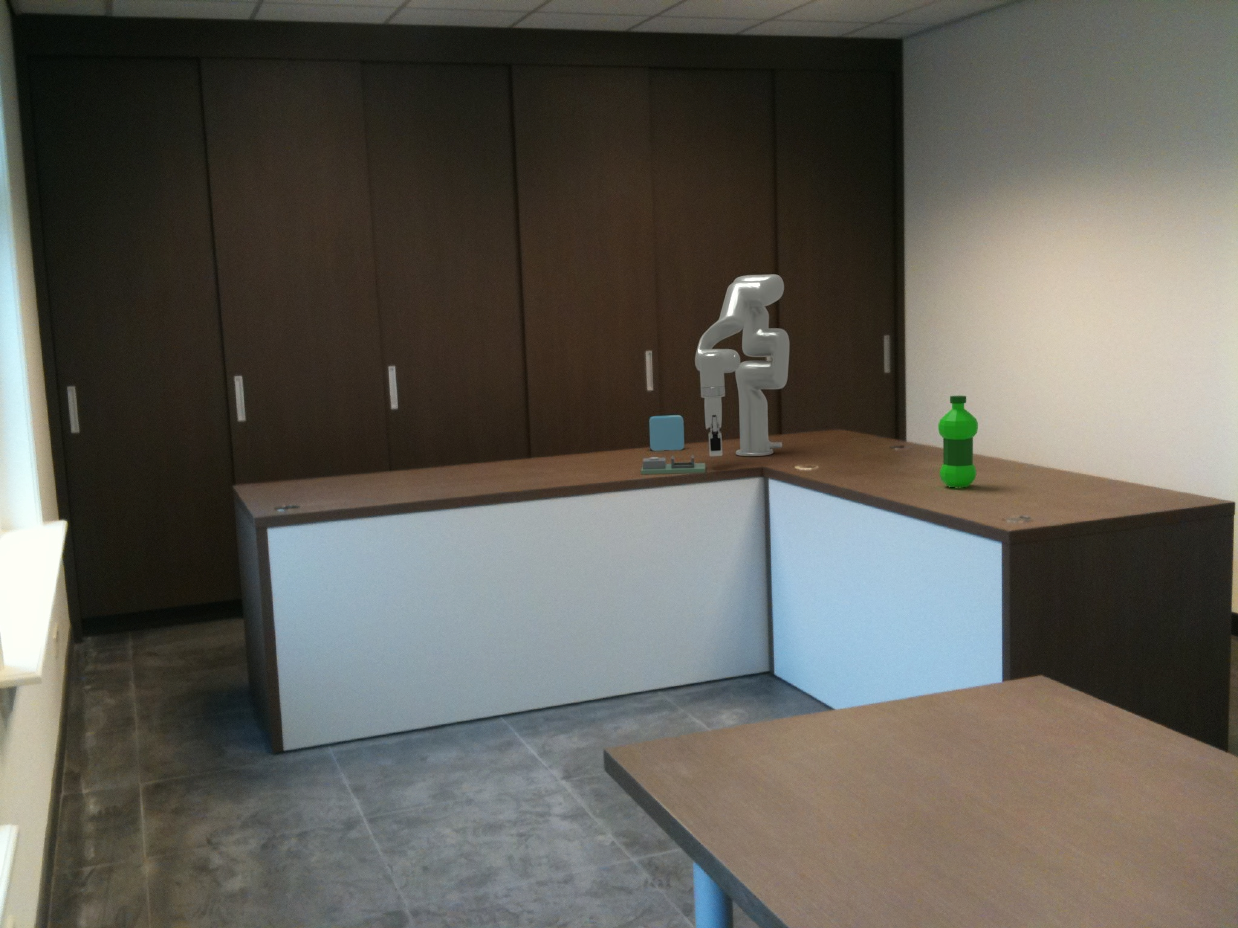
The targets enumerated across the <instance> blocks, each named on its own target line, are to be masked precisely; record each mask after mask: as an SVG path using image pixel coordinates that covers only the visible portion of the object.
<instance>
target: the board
mask: <svg viewBox="0 0 1238 928" xmlns="http://www.w3.org/2000/svg"><path fill="white" fill-rule="evenodd" d="M690 457H691V459H690V460H691V461H688V462H687V461H684V462H683V461H682V462H679V461H678V462H677V461H676V462H675V456H674V455H671V457H670V458H671V459H670V461H671V462H670V463H668V464H667V463H666V462H667V461H666V457H659V456H652V457H645V458H644V457H643V459H642V466H641V470H640V474H641V475H669V474H696V473H697V474H700V473H701V474H703V473H706V463H705V462H695V455H694V454H692V455H691V456H690Z"/></svg>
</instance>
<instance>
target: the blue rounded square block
mask: <svg viewBox="0 0 1238 928" xmlns="http://www.w3.org/2000/svg"><path fill="white" fill-rule="evenodd" d="M684 422H685V421H684V418H683V416H681V415H679V414H677V415H676V414H673V415H654V416H650V417H649V420H648V424H649V427H648V428H649V446H650V450H652V451H653V452H665V451H664V450H669V451H681V450H684V448H685V424H684Z"/></svg>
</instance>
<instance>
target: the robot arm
mask: <svg viewBox="0 0 1238 928" xmlns="http://www.w3.org/2000/svg"><path fill="white" fill-rule="evenodd" d="M784 290H785V283H784V281H783V278H782V277H781V276H780V275H778V274H772V273H771V274H747V275H741V276H738V277H736V278H735V279H734V280H733V282H731V284H729V285H728V286H727V290H726V292H725V297H724V300H723V303H722V307H721V309H720V315H719V318H718V320H717V321H716V322H714V323H713V324H712V325H711V326H710V327H709V328H708V329H707V330H706V331H705V332H704V333H703V334H702V335H701V337H700V338H699V341H698V344H697V348H696V351H695V356H694V364H695V368H696V370H697V371H698V372H699V377H700V378H699V379H700V380H699V381H700V382H699V383H700V397H701V398H702V399H704V422H705V429H706V430H709V432H711V438H710V446H711V451H720V450H721V441H720V435H719V432H720V429H721V428H722V421H723V419H722V417H723V414H722V413H723V410H722V409H723V407H722V397H725V396H726V387H725V386H726V385H725V374H730V373H735V380H736V381H735V382H736V384H737V385H736V387H737V391H738V405H739V407H738V408H739V409H738V411H739V414H738V415H739V445H740V446H739V447H740V449H737V450H736V451H735V455H736V456H740V457H742V456H743V457H762V456H763V457H764V456H770V455H772V454H774V450H773V449H782V448H783V442H779V441H777V442H776V441H774V442H773V441H770V439H769V417H768V414H769V413H768V411H769V410H768V408H769V407H768V400H767V398H766V396H765V394H764V393H763V391H762V390H781V389H783V388H784V387H785V386H786V385H787V381H788V377H789V375H788V374H789V361H790V339H789V338H790V337H789V335H788V332H787V330H785V329H783V328H780V327H779V328H776V327H774V328H771V327H770V328H769V324H770V314H769V311H768V310H767V308H766V307H767V306H770V305H772V304H773V303H775V302H777V301H779V300H780V299H781V298H782V296H783V294H784ZM741 331H742V339H741V341H742V342H741V349H742V352H743V354H744V355H745V356H747V357H751V358H772V360H745V361H742V362H741V356H740V354H739V353H738V351H736V350H735V349H729V348H713V347H714V346H716V345H717V344H718V343H719V342H721V341H723V340H724V339H727V338H729V337H731V336H733V335H735V334H738V333H740V332H741ZM709 428H710V429H709ZM712 434H713V436H712Z"/></svg>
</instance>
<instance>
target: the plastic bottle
mask: <svg viewBox="0 0 1238 928" xmlns="http://www.w3.org/2000/svg"><path fill="white" fill-rule="evenodd" d="M949 404H951V409H950V410H949V411H948V412H947V413H945V415H943V417H941V419H940V420H939V422H938V429H937V430H938V433H939V435H940V436H941V437H942V445H943V448H942V449H943V452H942V457H943V458H942V459H943V460H942V461H943V463H942V465H941V467H940V470H939V478H940V480H941V481H942V483H944V485H946V486H950V487H967V486H968V487H969V486H970V485H971V484H972V483H973V482H974V481H975V479H976V476H977V469H976V468H977V467H976V466H975V464H974V437H975V436H976V435H977V433H978V430H979V429H978V428H979V422H978V420H977V418H976V417H975V416H974V415H973V414H972V413H970V411H968V410H967V409H965V404H967V396H966V395H950V396H949ZM950 487H949V488H950ZM968 487H967V488H968Z"/></svg>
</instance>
